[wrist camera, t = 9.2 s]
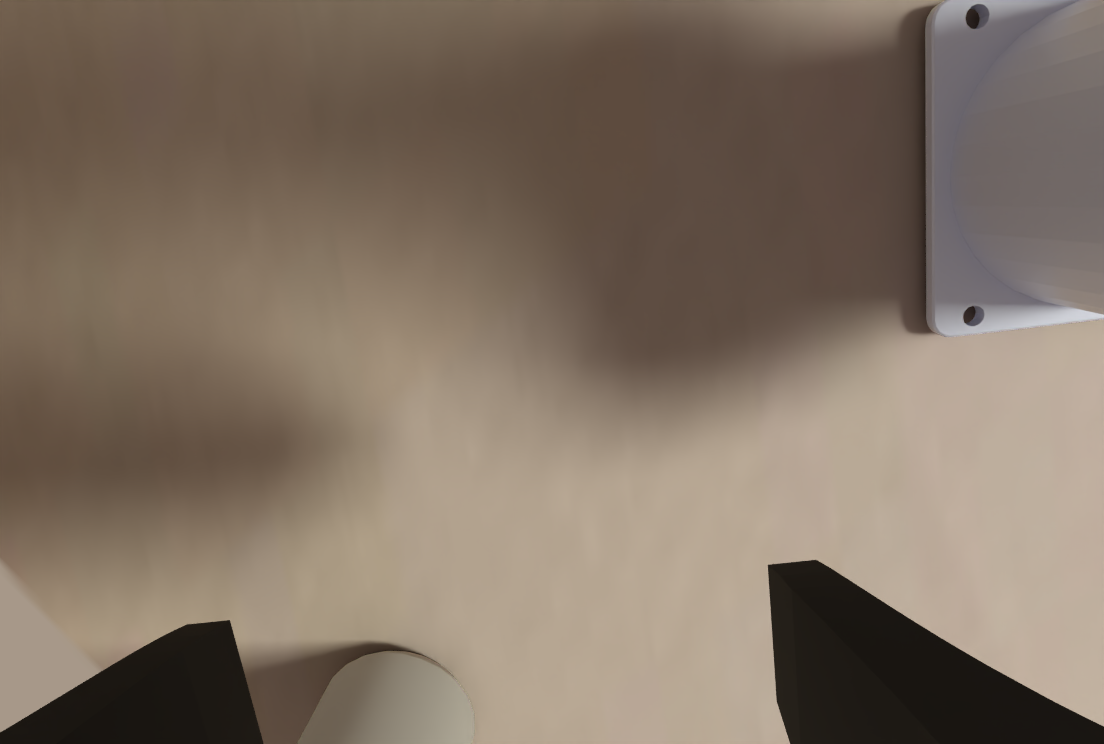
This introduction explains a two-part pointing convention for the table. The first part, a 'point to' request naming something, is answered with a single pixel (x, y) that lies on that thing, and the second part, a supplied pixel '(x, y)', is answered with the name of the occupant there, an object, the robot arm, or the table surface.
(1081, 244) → the robot arm
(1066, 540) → the table surface
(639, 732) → the table surface
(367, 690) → the beverage can
